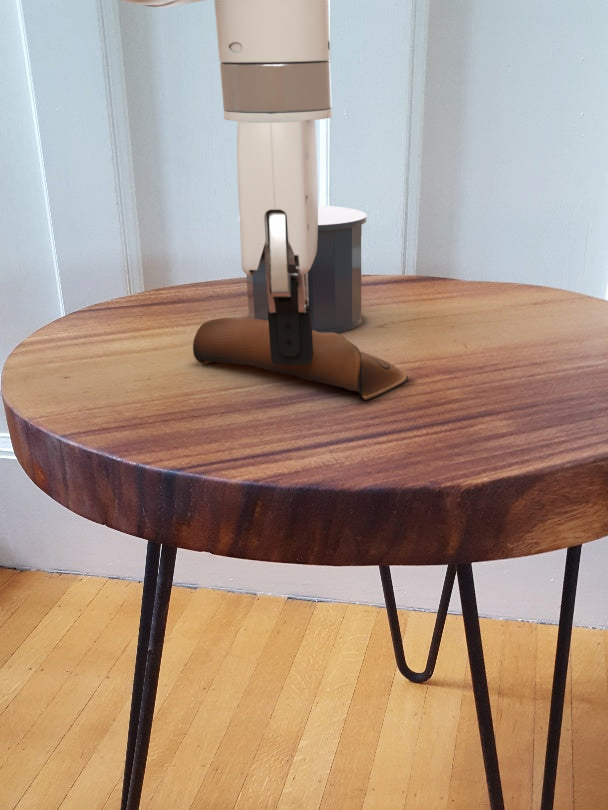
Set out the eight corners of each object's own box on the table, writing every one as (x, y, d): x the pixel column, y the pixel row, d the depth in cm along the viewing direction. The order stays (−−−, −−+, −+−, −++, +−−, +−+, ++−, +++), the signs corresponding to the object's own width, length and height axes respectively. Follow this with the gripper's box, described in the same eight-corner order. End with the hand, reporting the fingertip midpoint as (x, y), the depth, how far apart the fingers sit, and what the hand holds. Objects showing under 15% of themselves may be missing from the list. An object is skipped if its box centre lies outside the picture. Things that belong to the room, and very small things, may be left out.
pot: (299, 342, 91) (296, 235, 86) (227, 319, 98) (220, 219, 93) (384, 321, 98) (385, 221, 93) (311, 302, 105) (308, 207, 100)
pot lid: (295, 243, 86) (294, 186, 83) (213, 225, 93) (209, 173, 91) (393, 227, 93) (394, 175, 91) (309, 212, 100) (308, 163, 98)
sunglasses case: (415, 372, 82) (395, 311, 76) (376, 433, 79) (352, 374, 74) (253, 340, 90) (224, 282, 84) (213, 394, 88) (181, 339, 82)
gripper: (238, 89, 72) (257, 336, 82) (203, 101, 60) (231, 391, 70) (337, 87, 72) (344, 336, 82) (323, 100, 60) (333, 391, 70)
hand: (292, 361), depth 76 cm, fingers closed
